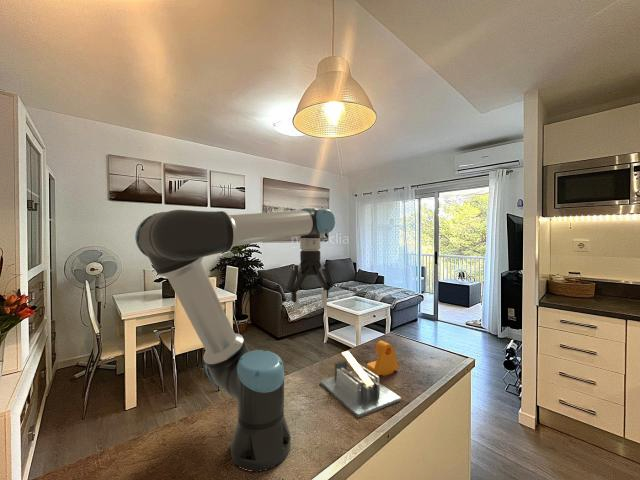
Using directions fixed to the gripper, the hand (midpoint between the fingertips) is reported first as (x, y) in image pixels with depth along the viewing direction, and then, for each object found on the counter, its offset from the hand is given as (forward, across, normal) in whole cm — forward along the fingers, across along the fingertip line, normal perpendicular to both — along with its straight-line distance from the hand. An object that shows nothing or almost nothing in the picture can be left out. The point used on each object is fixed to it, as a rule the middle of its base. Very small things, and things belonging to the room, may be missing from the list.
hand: (310, 308), depth 104 cm
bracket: (+28, +30, -6) cm, 42 cm away
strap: (+21, +12, -13) cm, 27 cm away
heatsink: (+28, +12, -14) cm, 33 cm away
